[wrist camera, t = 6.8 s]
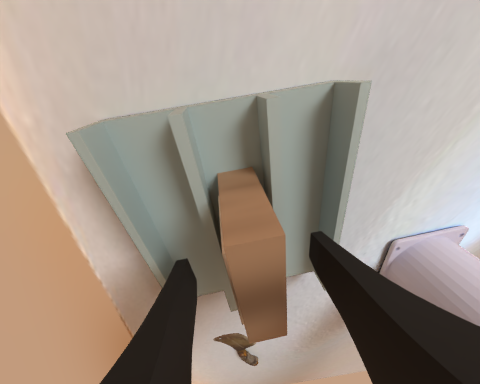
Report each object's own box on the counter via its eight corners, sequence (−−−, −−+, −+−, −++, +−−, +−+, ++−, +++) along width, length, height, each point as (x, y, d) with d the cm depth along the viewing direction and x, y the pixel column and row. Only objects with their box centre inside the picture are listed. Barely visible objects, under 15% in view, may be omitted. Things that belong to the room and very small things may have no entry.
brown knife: (246, 319, 24) (209, 328, 25) (247, 329, 23) (209, 338, 24) (262, 356, 30) (232, 362, 30) (263, 365, 29) (232, 372, 29)
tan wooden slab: (262, 253, 16) (287, 335, 11) (234, 258, 16) (246, 344, 11) (252, 166, 12) (285, 234, 7) (214, 173, 12) (217, 248, 6)
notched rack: (314, 261, 19) (329, 289, 17) (187, 288, 18) (183, 322, 16) (333, 80, 11) (372, 80, 8) (102, 119, 10) (65, 133, 8)
